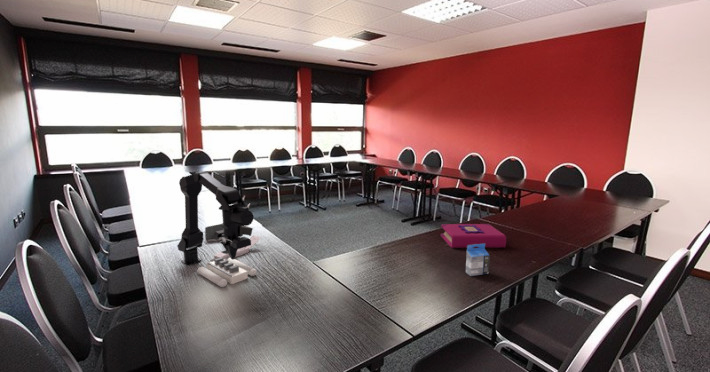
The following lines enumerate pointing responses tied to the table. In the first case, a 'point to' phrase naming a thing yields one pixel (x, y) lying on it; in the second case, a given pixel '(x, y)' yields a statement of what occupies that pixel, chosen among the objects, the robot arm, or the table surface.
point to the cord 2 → (243, 266)
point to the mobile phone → (239, 251)
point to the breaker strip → (227, 270)
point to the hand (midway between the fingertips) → (233, 259)
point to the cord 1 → (212, 276)
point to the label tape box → (477, 260)
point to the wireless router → (214, 230)
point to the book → (473, 235)
